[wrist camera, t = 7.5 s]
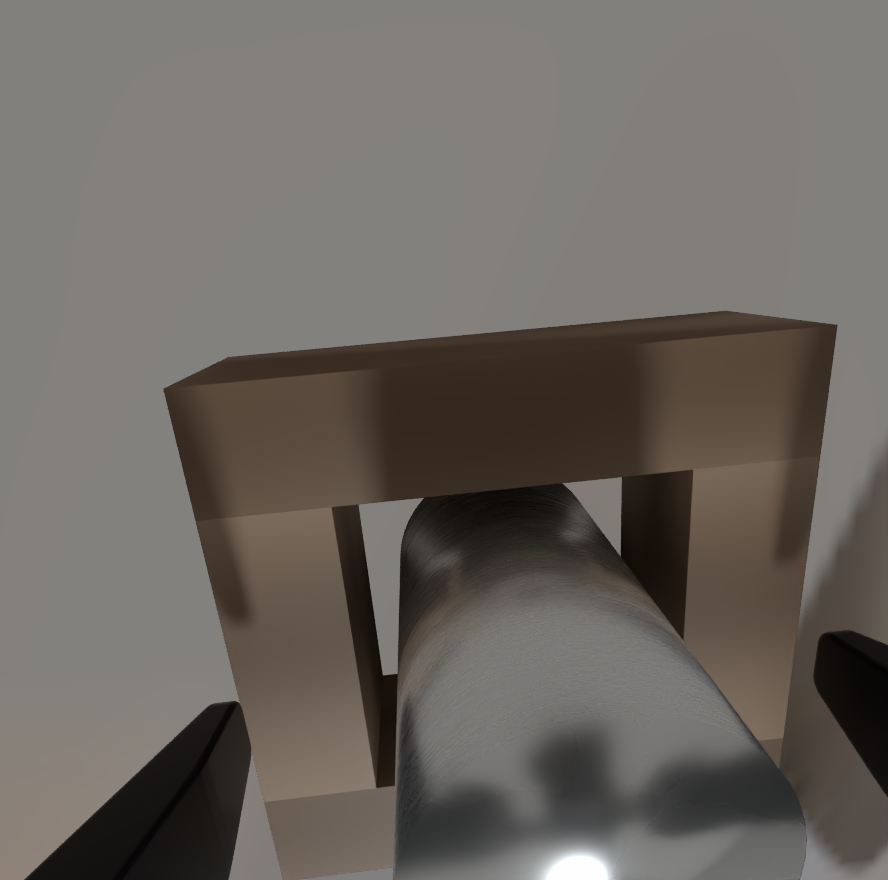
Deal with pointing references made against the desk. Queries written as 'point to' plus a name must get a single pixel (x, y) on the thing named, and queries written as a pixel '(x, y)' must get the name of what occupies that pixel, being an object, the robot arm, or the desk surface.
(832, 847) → the desk surface
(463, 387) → the frame
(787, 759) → the desk surface
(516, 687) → the metal cylinder
